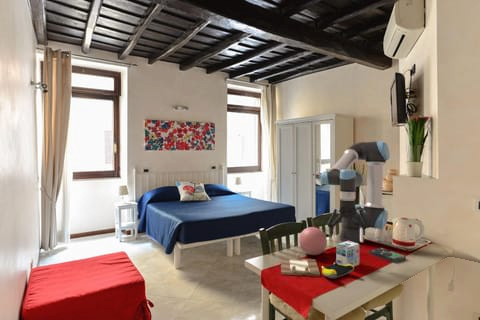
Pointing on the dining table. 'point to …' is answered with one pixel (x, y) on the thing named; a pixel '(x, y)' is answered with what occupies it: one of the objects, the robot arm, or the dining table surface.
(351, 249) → the light bulb box
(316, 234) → the balloon
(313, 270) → the pin board
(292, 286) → the dining table surface
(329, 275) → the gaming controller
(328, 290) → the dining table surface
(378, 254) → the disk drive
